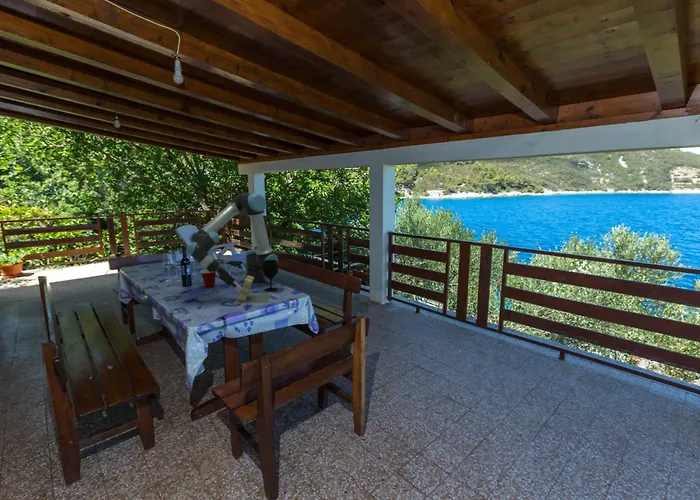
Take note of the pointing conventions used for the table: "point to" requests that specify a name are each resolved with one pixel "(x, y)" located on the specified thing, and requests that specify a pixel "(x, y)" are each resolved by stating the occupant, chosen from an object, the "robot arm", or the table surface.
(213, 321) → the table surface
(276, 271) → the wine glass
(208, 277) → the plastic cup
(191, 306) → the table surface
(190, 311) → the table surface
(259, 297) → the rubber mat
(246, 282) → the oak board
